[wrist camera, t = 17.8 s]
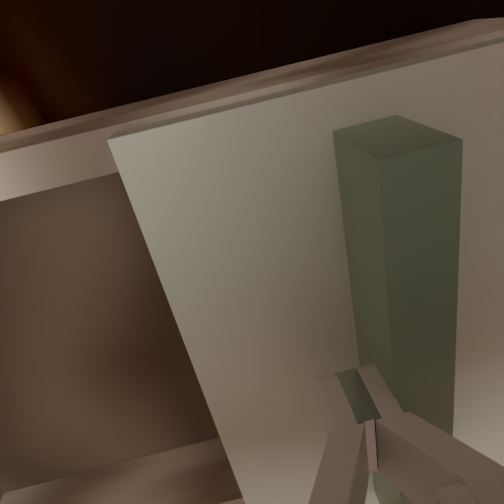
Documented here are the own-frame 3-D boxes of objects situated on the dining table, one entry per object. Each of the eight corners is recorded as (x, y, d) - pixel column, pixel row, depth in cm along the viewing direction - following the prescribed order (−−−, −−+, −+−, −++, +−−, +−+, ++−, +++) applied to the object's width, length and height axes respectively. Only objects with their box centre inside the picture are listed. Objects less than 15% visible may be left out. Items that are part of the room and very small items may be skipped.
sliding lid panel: (581, 17, 9) (753, 8, 6) (516, 448, 16) (583, 533, 13) (113, 132, 9) (77, 176, 6) (255, 517, 16) (268, 617, 13)
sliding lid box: (473, 19, 12) (568, 13, 9) (458, 379, 19) (509, 443, 16) (-262, 199, 12) (-420, 256, 9) (-2, 498, 19) (-39, 587, 16)
